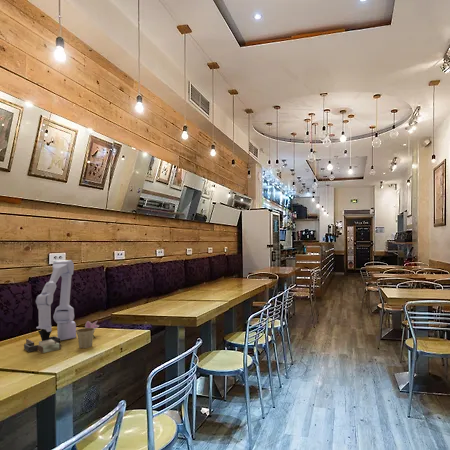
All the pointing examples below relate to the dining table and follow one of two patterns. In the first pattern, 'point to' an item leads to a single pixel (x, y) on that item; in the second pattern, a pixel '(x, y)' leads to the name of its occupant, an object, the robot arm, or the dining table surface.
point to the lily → (91, 325)
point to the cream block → (46, 342)
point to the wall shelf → (30, 346)
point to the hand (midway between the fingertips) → (45, 343)
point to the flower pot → (85, 337)
